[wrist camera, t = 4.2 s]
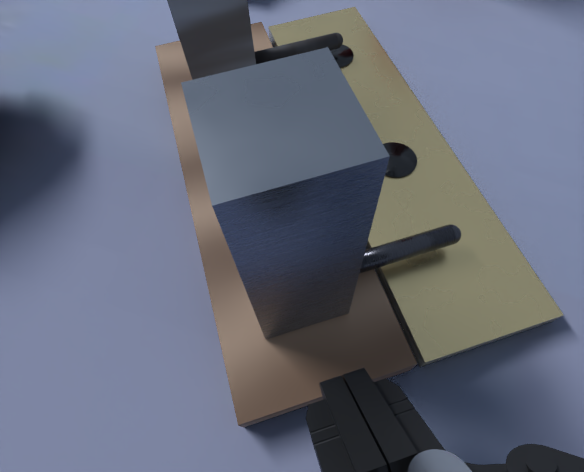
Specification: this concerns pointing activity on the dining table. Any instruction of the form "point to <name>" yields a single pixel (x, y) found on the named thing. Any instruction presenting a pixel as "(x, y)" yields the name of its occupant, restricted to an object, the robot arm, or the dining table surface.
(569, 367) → the dining table surface
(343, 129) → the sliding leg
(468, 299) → the bolt plate
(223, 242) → the base
